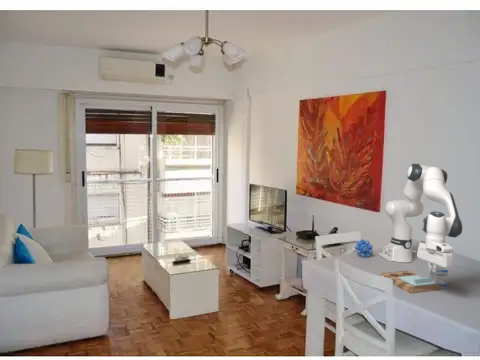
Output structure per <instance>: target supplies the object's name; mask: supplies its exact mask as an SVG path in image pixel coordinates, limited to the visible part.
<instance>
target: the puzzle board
mask: <svg viewBox="0 0 480 360" xmlns="http://www.w3.org/2000/svg"><path fill="white" fill-rule="evenodd" d="M380 274H381V275H380V277H381V276H384V277H388V278H391V279H392V280H393V284H394V285H393V284H392V285H393V286H395V287H398V288H399V289H401V290H403V291H406V292H408V293H410V294H418V293H425V292H427V293H428V292H434V291H436V292H437V291H440V287H441V286H440V285H439V284H431V285H422V286H413V285H411V284H409V283H407V282H405V281H403V280H401V279H399V278H398V277H405V276H415V275H418V274H417V273H414V272H412V271H410V270H400V271H390V272H381V273H380ZM418 276H420V277H422V276H421V275H418Z"/></svg>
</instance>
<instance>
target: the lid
mask: <svg viewBox="0 0 480 360" xmlns="http://www.w3.org/2000/svg"><path fill="white" fill-rule="evenodd" d="M420 276H421V275H419V276H418V274H416V275H415V276H405V277H398V278H399V279H401V280H403V281H405V282H407V283H409V284H411V285H413V286H422V285H431V284H434V282H432V281H431V278H430V276H429V277H423V276H421V277H420Z"/></svg>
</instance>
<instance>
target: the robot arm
mask: <svg viewBox="0 0 480 360" xmlns="http://www.w3.org/2000/svg"><path fill="white" fill-rule="evenodd" d="M406 177H407V180H406V183H405V185H404V186H403V189H402V191H403V192H402V193H403V196H404V197H405V199H393V200H390V201H389V200H388V201H387V202H386V203H385V205H384V211H385V214H386V215H387V216H388V217H389V218H390V220H391V221H392V230H393V232H392V236H391V237H389V238H390V242H388V243H387V244H386V245H384V246H383V247H382V252H378V255H379V256H380V257H382V258H383V259H385V260H387V261H389V262H396V263H404V264H405V263H412V262H413V260H414V258H413V250H412V249H413V248H412V243H413V240H412V232H413V227H412V225H411V224H410V223H408V222H407V219H406V218H411V217H412V218H415V217H418V216H421V215H422V214H423V213H424V210H425V209H424V204H423V202H422V201H421V198H422V195H423V194H424V196H425V197H426V199H428V200H430V201H432V202H436V203H439V204H441V205H442V206H445V208H446V209H447V213H448V217H447V216H446V214H445V213H444V212H441V211H430V212H429V213H428V216H426V217H424V218H423V220H422V222H423V224H422V229H421V230H422V231H423V233H425V234H426V236H425V241H424V240H421V241H420V242H419V243H418V247H417V253H416V257H417V258H418V259H420V260H423V261H426V262H427V264H428V267H429V272H430V271H432V272H434V273H435V272H437V268H440V267H441V268H444V269H451V268H452V267H453V264H454V254H453V251H454V247H453V246H451V245H450V244H449V243H448V242H446V237H447V238H448V237H450V238H455V239H456V238H457V237H459V236H460V235H461V234H462V233H463V223H462V220H461V218H460V215H459V212H458V208H457V205H456V201H455V199H454V196H453V193H452V192H450V191H449V190H448V189H447V188H446V185H445V184H446V183H447V180H448V172H447V171H445V170H444V169H442V168H440V167H437V166H431V165H426V164H419V163H411V165H409V167H408V169H407V171H406Z"/></svg>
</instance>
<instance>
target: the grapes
mask: <svg viewBox="0 0 480 360" xmlns="http://www.w3.org/2000/svg"><path fill="white" fill-rule="evenodd" d="M354 248H355V250H356V254H357V255H360V257H362V258H365V257H366V258H370V256H371V255H372V254H374V253H373V252H374V251H373V245H372V244H370V241H369V240H365V239H363V238H361V239H360V240H357V241H356V245H355V246H354Z"/></svg>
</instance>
